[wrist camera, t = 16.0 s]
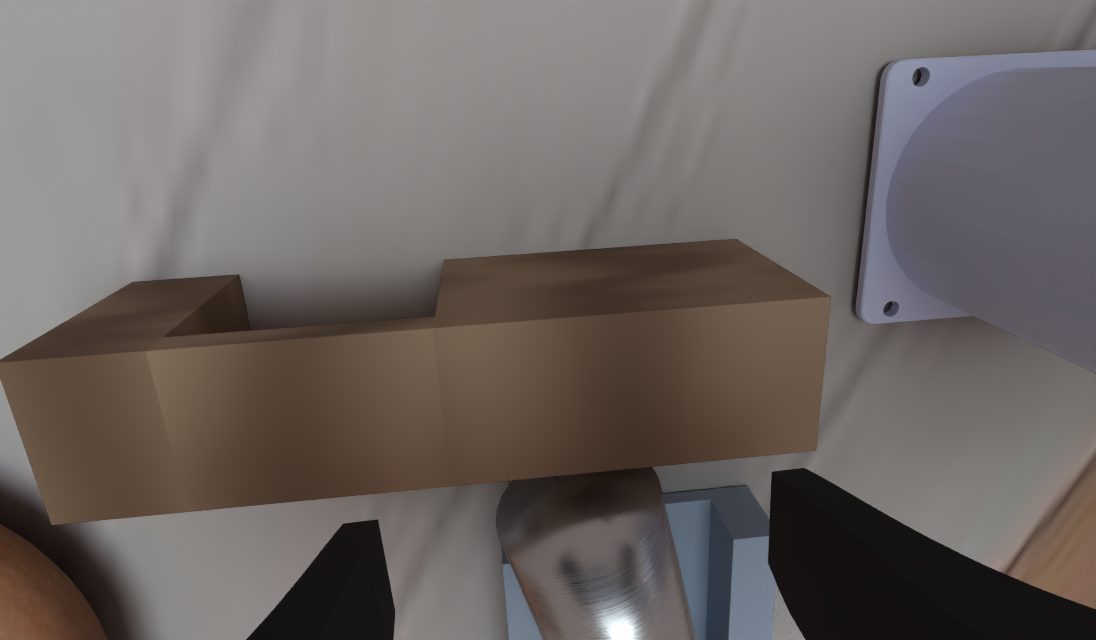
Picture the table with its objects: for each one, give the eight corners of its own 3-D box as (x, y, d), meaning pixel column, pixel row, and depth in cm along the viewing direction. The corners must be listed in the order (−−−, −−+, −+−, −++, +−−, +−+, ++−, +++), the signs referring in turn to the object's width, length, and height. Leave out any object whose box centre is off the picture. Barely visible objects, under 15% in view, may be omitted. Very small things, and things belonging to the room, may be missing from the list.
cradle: (746, 485, 24) (779, 534, 22) (735, 678, 27) (763, 742, 25) (499, 510, 24) (502, 564, 21) (516, 705, 27) (520, 773, 24)
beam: (736, 239, 21) (831, 296, 15) (730, 357, 22) (816, 450, 17) (132, 282, 20) (-5, 362, 14) (165, 406, 21) (51, 525, 15)
